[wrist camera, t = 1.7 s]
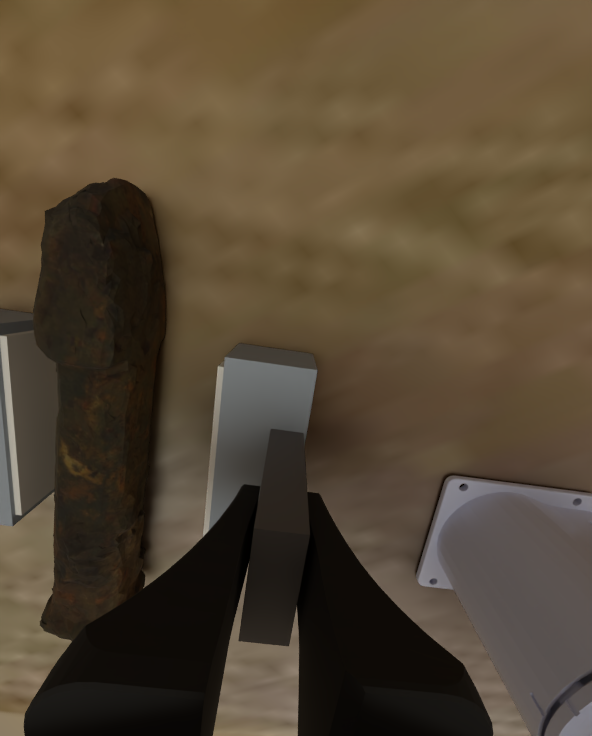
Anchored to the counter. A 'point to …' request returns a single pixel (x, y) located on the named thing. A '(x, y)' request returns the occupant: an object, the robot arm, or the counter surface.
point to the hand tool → (99, 392)
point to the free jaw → (265, 476)
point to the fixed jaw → (25, 418)
